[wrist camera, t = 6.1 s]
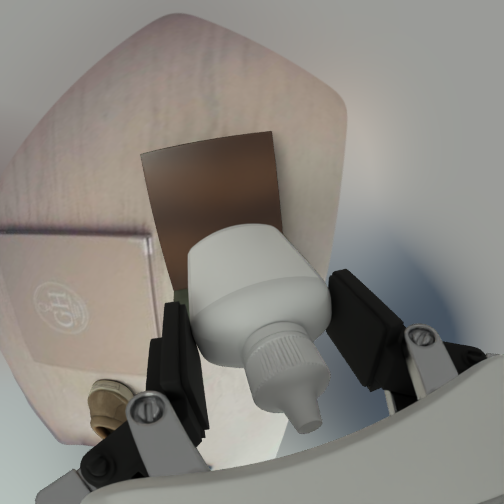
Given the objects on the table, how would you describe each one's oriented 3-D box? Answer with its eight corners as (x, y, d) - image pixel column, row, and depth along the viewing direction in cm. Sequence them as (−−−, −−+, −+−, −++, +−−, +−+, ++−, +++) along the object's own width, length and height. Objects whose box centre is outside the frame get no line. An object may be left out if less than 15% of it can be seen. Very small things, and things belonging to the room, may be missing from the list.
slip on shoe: (171, 453, 49) (174, 485, 41) (126, 452, 46) (126, 482, 38) (142, 378, 38) (139, 423, 30) (80, 375, 35) (69, 417, 27)
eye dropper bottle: (197, 207, 15) (223, 373, 4) (287, 227, 17) (420, 363, 6) (182, 275, 17) (192, 465, 6) (266, 288, 18) (349, 447, 8)
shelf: (148, 152, 26) (121, 159, 15) (258, 132, 28) (301, 128, 17) (177, 278, 32) (176, 344, 22) (273, 258, 34) (311, 313, 23)
